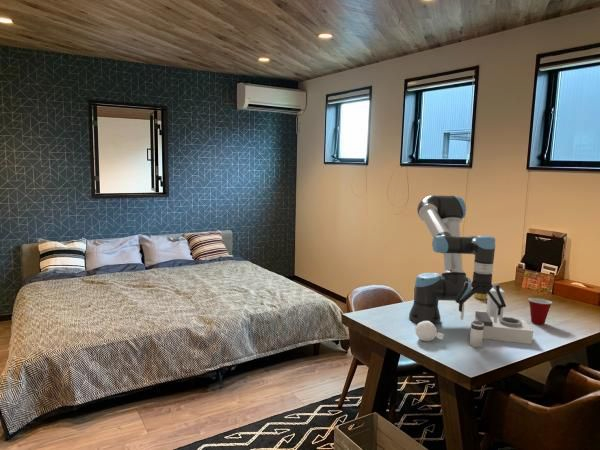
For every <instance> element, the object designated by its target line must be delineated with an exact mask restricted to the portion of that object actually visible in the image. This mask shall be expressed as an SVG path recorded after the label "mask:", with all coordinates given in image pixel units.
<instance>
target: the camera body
mask: <svg viewBox="0 0 600 450" xmlns="http://www.w3.org/2000/svg"><path fill="white" fill-rule="evenodd" d="M474 321H479V322H482V323H484V329H483V339H485V340H494V341H501V342H502V341H503V342H510V343H511V342H512V343H519V344H521V343H522V344H529V345H530V344H531V345H532V343H533V336H534V329H532V327H531V326H530V325H529V324H528V323H527V321H526V320H523V319H518V318H514V317H508V316H503V317H501V318H497V323H495V322H494V317H489V315H488V314H487V311H486V312H485V311H477V310H476V311H475V315H474ZM483 339H482V340H483Z"/></svg>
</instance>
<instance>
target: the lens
mask: <svg viewBox="0 0 600 450" xmlns="http://www.w3.org/2000/svg"><path fill="white" fill-rule="evenodd" d="M483 329H484V323H482V322H479V321H475V320H472V321H471V324H470V336H469V346H471V347H474V348H482V347H483Z"/></svg>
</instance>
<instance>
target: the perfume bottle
mask: <svg viewBox="0 0 600 450" xmlns="http://www.w3.org/2000/svg"><path fill="white" fill-rule="evenodd" d="M415 335H416V336H417V339H420V340H421V341H422V342H431V341H433V340H434V339H435V338H436V339H440V340H444V335H445V333H441V332H437V327H436V326H435V325H434V324H433V323H431V322H430V321H422V322H420V323H417V324H416V326H415Z"/></svg>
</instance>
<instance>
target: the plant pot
mask: <svg viewBox="0 0 600 450" xmlns="http://www.w3.org/2000/svg"><path fill="white" fill-rule="evenodd" d="M473 297H474V298H476V299H478V300H486V299H487V298H488V293H487V294H477V293H475V294H474V295H473Z"/></svg>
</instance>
